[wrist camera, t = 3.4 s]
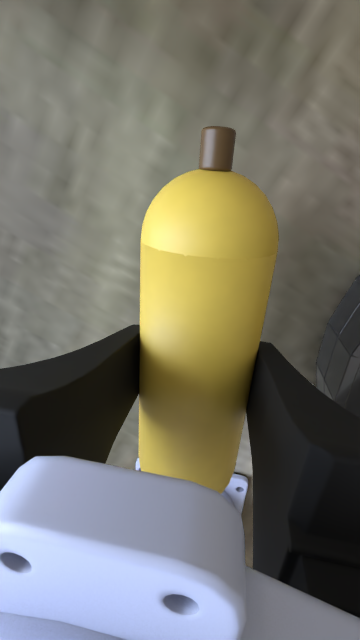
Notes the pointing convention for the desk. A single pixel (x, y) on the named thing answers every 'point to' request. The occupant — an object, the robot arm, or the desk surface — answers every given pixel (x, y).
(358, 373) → the pan
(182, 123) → the desk surface
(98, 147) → the desk surface
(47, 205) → the desk surface
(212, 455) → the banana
